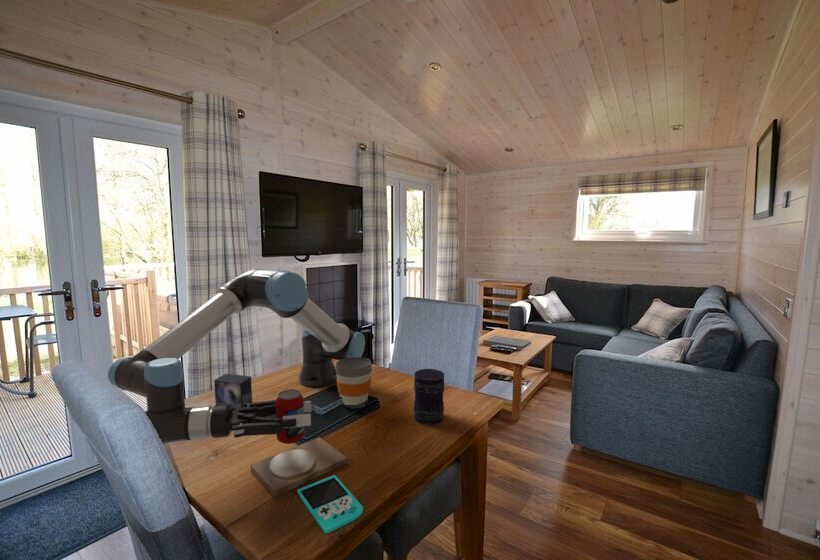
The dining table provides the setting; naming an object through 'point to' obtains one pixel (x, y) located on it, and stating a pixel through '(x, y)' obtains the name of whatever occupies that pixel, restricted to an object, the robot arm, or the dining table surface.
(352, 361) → the reusable coffee cup
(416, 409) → the dark blue cylinder
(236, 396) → the small box
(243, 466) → the dining table surface
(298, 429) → the beverage can
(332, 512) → the handheld game console
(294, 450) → the drinks board
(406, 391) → the dining table surface
